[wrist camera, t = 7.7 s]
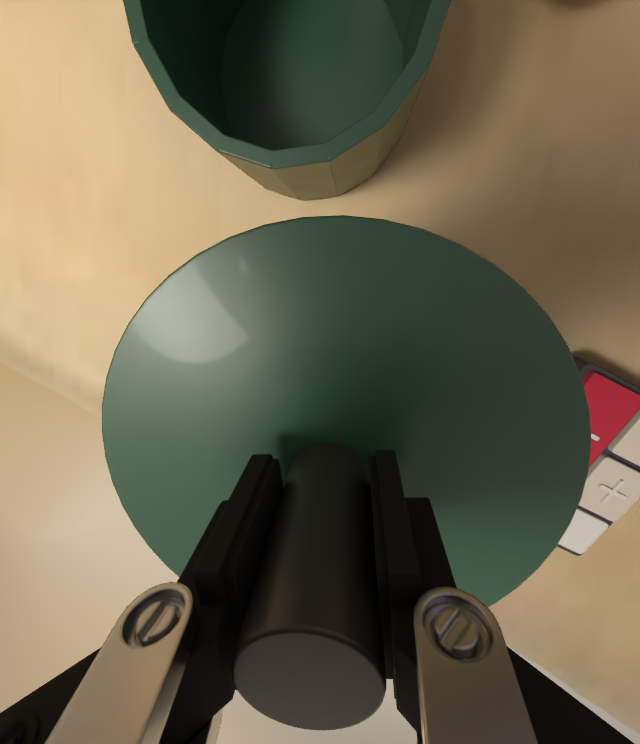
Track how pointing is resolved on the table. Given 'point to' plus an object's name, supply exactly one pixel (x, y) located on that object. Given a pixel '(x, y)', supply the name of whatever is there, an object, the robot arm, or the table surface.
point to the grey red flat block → (606, 457)
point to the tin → (291, 81)
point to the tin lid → (344, 433)
